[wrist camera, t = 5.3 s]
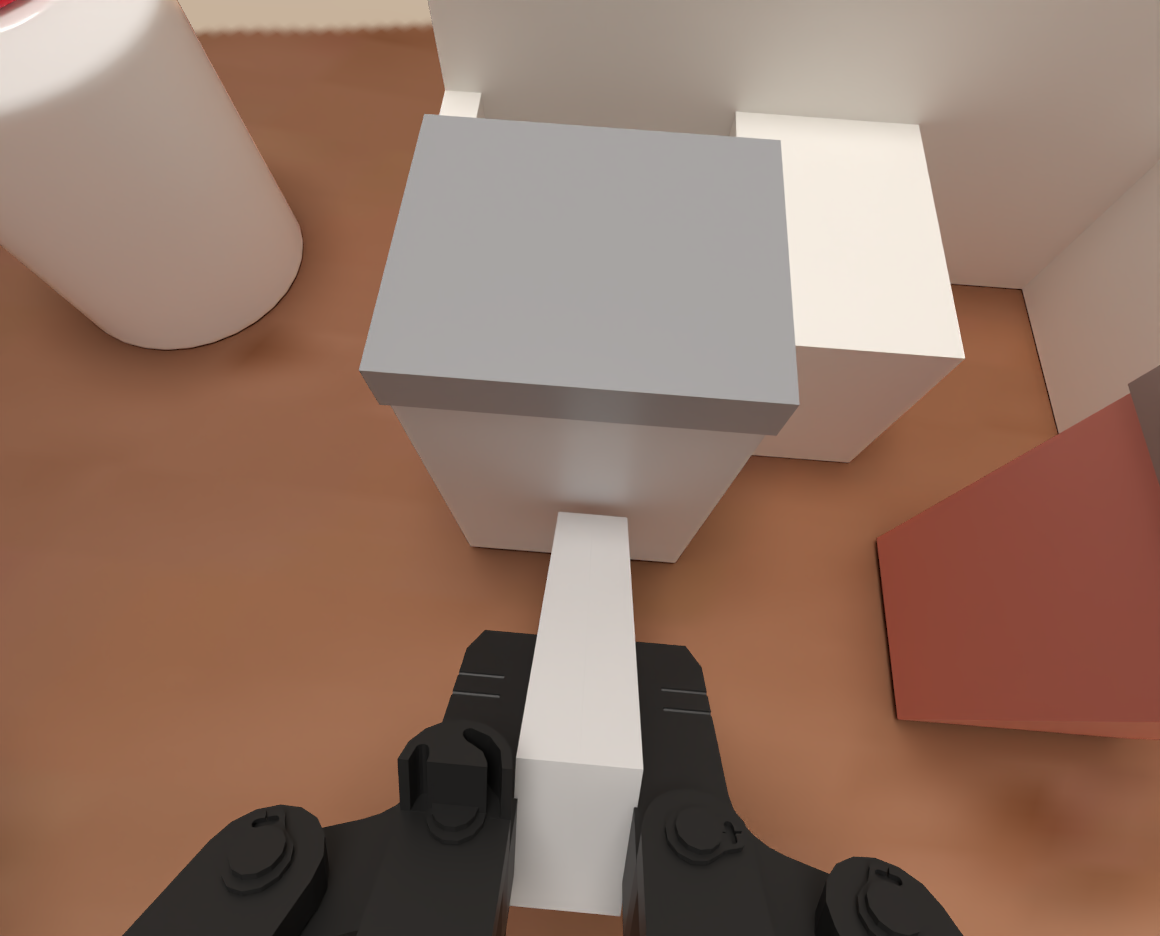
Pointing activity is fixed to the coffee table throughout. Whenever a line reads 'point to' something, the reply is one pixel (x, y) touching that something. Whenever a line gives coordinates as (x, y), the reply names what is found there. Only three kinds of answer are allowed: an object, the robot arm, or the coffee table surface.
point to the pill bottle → (135, 174)
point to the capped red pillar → (1038, 586)
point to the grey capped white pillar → (585, 324)
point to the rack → (885, 167)
